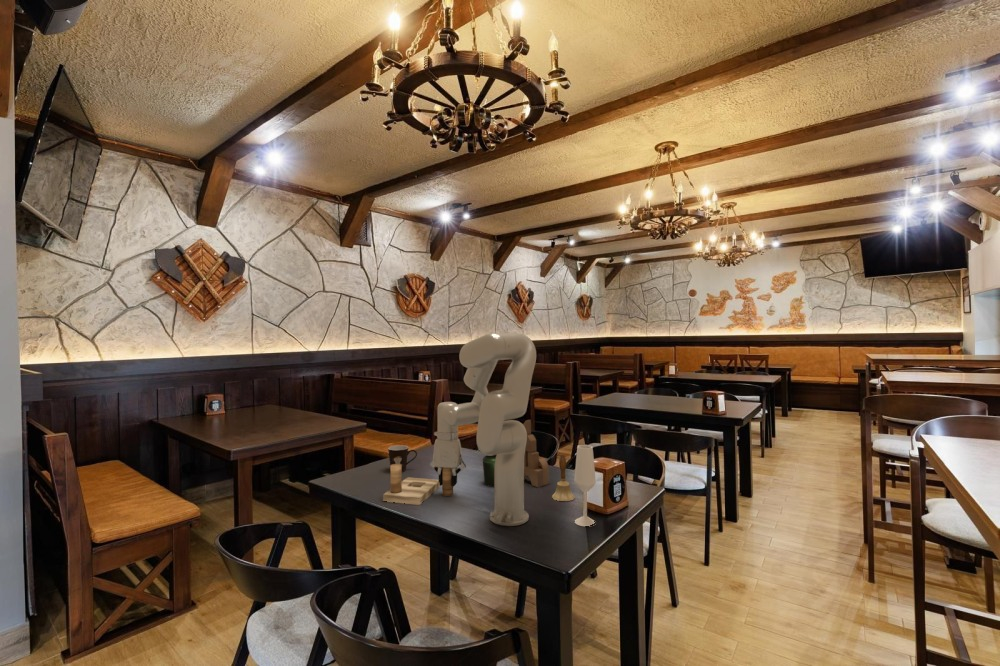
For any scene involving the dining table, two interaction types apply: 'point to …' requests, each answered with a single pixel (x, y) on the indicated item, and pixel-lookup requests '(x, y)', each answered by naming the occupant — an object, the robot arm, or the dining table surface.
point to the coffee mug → (399, 455)
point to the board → (408, 488)
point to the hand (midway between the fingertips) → (447, 484)
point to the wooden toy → (534, 461)
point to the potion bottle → (489, 470)
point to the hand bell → (563, 484)
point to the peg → (447, 482)
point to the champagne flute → (584, 478)
